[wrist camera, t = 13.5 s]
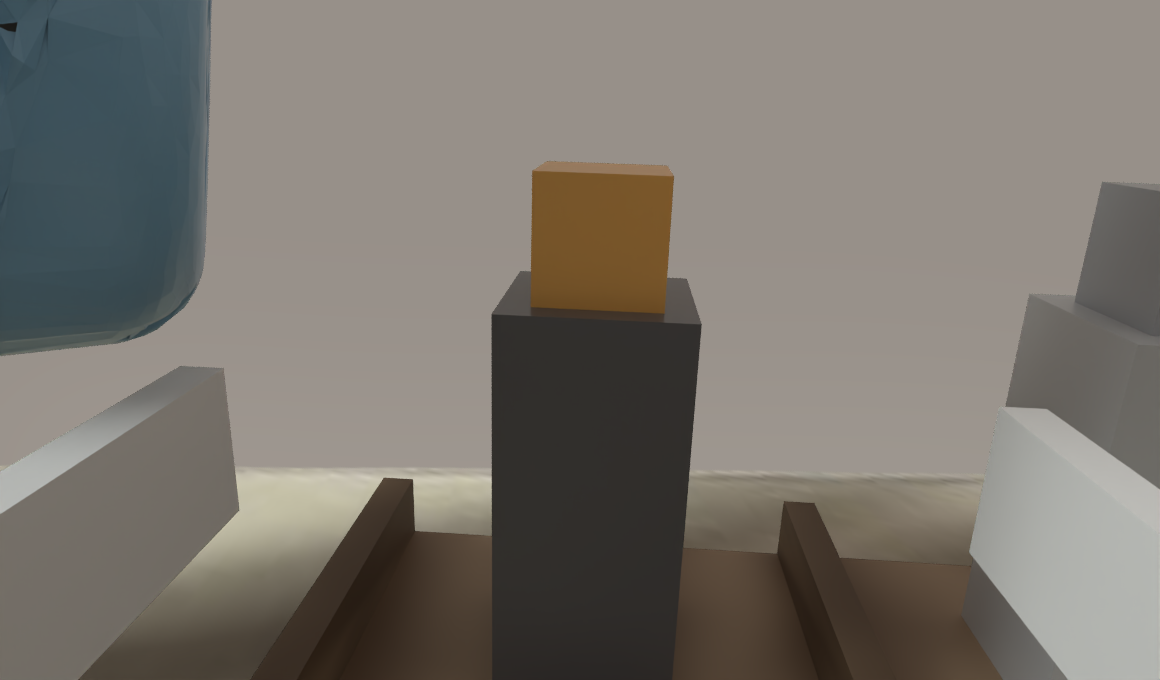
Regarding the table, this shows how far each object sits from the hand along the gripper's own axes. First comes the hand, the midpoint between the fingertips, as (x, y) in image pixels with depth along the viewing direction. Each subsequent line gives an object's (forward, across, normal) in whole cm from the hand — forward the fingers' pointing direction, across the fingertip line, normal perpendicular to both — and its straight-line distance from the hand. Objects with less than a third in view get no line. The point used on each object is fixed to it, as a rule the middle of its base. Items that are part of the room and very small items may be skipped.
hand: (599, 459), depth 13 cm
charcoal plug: (+6, 0, -9) cm, 11 cm away
